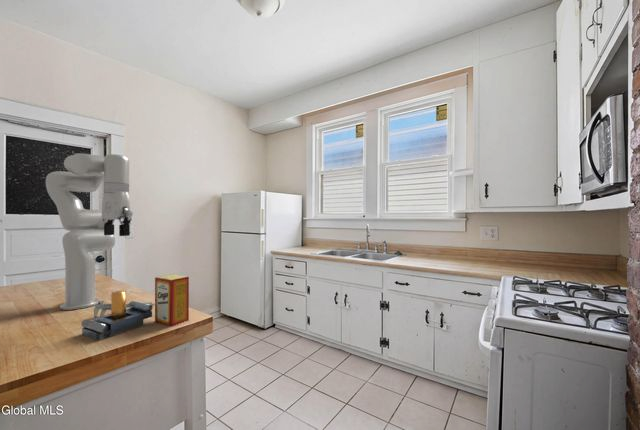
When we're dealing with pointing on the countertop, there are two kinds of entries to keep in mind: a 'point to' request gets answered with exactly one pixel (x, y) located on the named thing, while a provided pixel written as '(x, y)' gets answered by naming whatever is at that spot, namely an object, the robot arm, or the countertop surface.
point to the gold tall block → (118, 305)
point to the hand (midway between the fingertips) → (116, 235)
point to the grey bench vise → (117, 322)
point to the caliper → (107, 307)
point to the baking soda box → (171, 299)
